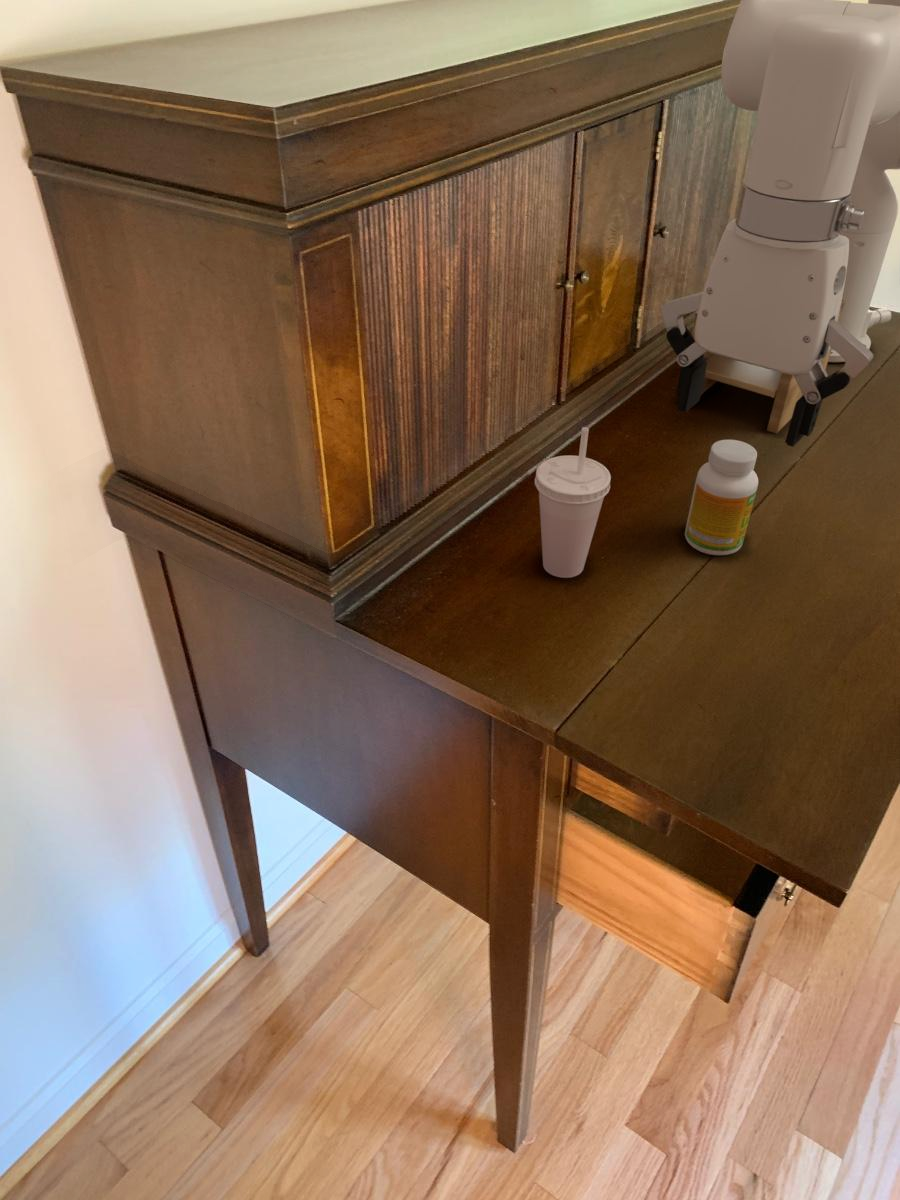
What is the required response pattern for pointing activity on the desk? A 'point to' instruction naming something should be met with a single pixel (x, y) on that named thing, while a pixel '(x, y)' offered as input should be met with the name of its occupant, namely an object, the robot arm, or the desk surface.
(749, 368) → the shelf stand
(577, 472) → the smoothie
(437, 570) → the desk surface
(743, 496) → the supplement bottle
